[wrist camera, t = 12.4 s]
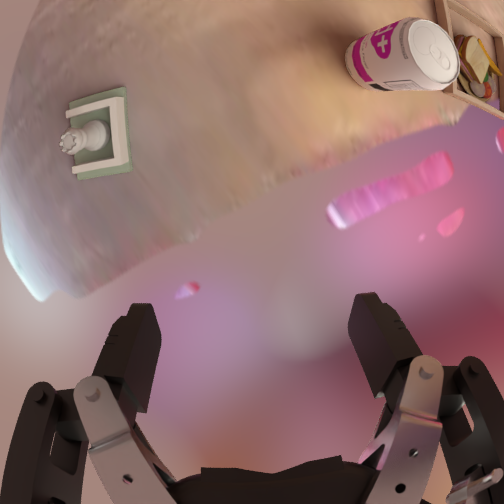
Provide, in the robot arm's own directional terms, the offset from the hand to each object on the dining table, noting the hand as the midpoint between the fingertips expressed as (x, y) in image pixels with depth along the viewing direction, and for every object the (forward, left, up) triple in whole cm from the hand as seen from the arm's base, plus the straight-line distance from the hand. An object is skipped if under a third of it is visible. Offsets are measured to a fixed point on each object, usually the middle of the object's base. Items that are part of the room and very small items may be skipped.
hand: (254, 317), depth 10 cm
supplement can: (-16, +18, -28) cm, 37 cm away
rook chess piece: (-7, -19, -27) cm, 34 cm away
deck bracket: (-7, -20, -28) cm, 35 cm away
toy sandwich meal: (-22, +40, -29) cm, 54 cm away
